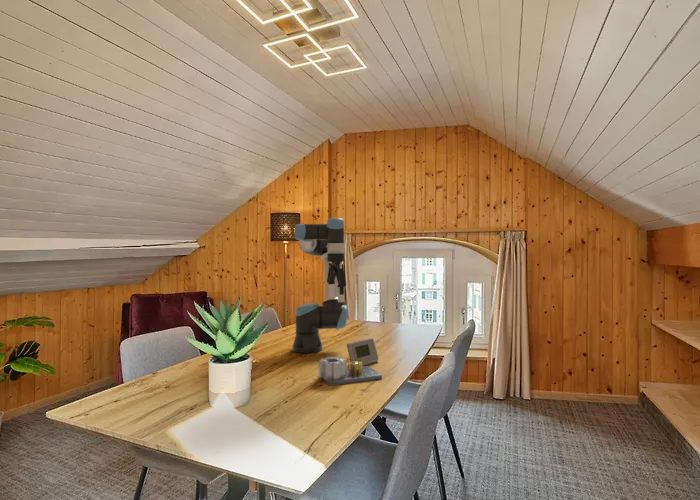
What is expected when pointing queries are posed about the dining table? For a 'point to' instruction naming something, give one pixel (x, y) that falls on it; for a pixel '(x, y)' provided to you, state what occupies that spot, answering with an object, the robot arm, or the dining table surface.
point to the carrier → (355, 374)
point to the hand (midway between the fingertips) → (336, 300)
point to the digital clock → (363, 351)
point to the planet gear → (332, 368)
